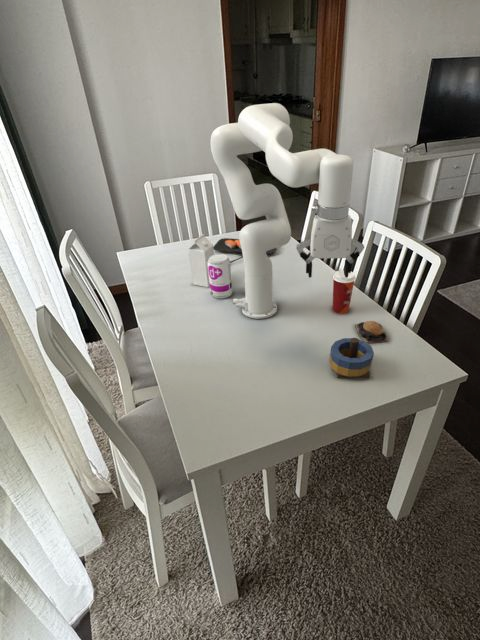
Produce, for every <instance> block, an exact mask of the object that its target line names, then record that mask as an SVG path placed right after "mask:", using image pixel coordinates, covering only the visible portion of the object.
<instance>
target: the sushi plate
mask: <svg viewBox="0 0 480 640" xmlns="http://www.w3.org/2000/svg"><path fill="white" fill-rule="evenodd" d="M213 249H214V251H218V252H226V253H231V254H234V255H236V256H239V257H238V258H236V259H233V260H230V264H232V263H234V262H236V261H238V260H240V259H243V254H242V249H241V245H240V240H239V238H231V237H230V238H227V237H225V238H224V237H223V238H220V239H219V240H217V242H216V243H215V244H214V245H213ZM276 249H277V248H274V249H271V250H268V251H267V252H266V255H272V254H274V253H275V251H276Z"/></svg>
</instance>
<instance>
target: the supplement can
mask: <svg viewBox="0 0 480 640" xmlns="http://www.w3.org/2000/svg"><path fill="white" fill-rule="evenodd" d="M230 261H231V259H230V258H229V256H228V255H227V254H225V253H214V255H211V256H210V257H209V260H208V262H207V263H208V273H209V282H210V286H209V289H210V291H209V292H210V295H211V296H212V297H213V298H215V299H226V298H229V297H230V296H231V295H232V294H233V282H232V270H231V267H232V266H231V263H230Z"/></svg>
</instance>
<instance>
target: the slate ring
mask: <svg viewBox="0 0 480 640" xmlns="http://www.w3.org/2000/svg"><path fill="white" fill-rule="evenodd" d="M351 338H352V337H344V338H343V337H342V338H340V339H338V340H335V341H334V342H333V344H332V345H331V346H330V353H329V355H330V354H331V359H332V361H333V362H334V363H336V364H337V365H338V366H340V367H343V368H346V369H350V370H352V369H363V368H365V367H367V366H369V365H370V363H371V362H372V363H373V360H374V353H375V351H374V349H373V347H372V345H370V343H369V344H368V343H366V342H365V341H363V339H359V346H358V350H359V351H360V352H362V353H363V354H364V356H362V357H359V358H349V357H346V356H343V355H342V354H341V353H340V351H341V350H344V349H349V347H350V340H351Z"/></svg>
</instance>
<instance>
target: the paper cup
mask: <svg viewBox="0 0 480 640" xmlns="http://www.w3.org/2000/svg"><path fill="white" fill-rule="evenodd" d="M332 279H333V280H332V281H333V282H332V283H333V284H332V286H333V287H332V311H333V313H335V314H338V315H345V314H347V313H349V311H350V305H351V301H352V295H353V291H354V290H353V289H354V284H355V281H356V275H355V273H354V272H353V271H351V273H348V277H345V275H344V269H340V270H336V271H335V272H334V274H333V275H332Z"/></svg>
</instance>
